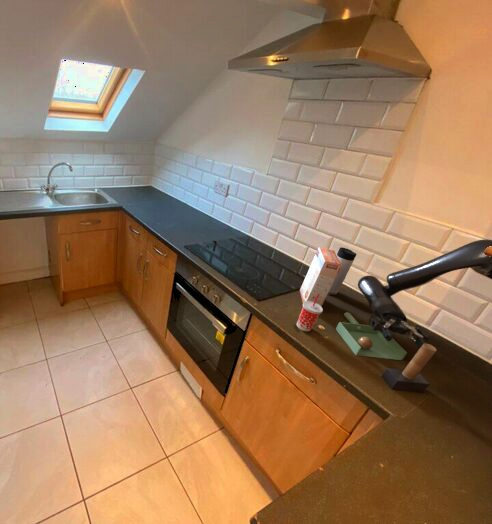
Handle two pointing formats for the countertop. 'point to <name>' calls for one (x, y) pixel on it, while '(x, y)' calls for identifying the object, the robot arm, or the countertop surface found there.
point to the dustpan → (380, 344)
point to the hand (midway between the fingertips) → (406, 343)
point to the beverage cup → (309, 315)
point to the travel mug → (342, 268)
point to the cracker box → (320, 276)
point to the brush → (410, 372)
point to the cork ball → (365, 342)
